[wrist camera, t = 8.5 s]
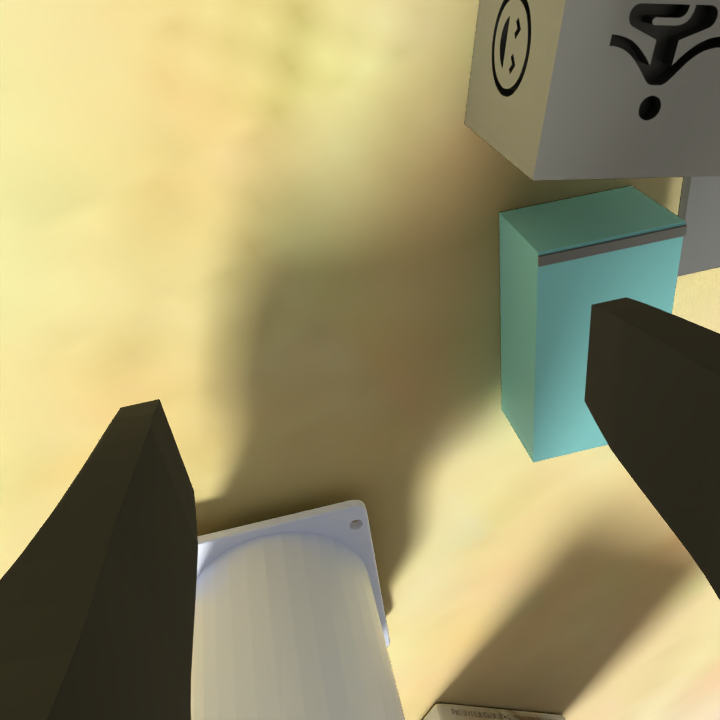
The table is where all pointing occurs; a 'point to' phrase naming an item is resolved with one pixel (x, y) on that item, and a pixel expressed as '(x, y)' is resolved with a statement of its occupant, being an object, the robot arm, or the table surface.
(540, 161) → the dice cube
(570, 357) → the turquoise box
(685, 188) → the stub pad
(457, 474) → the table surface
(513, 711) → the coffee box
